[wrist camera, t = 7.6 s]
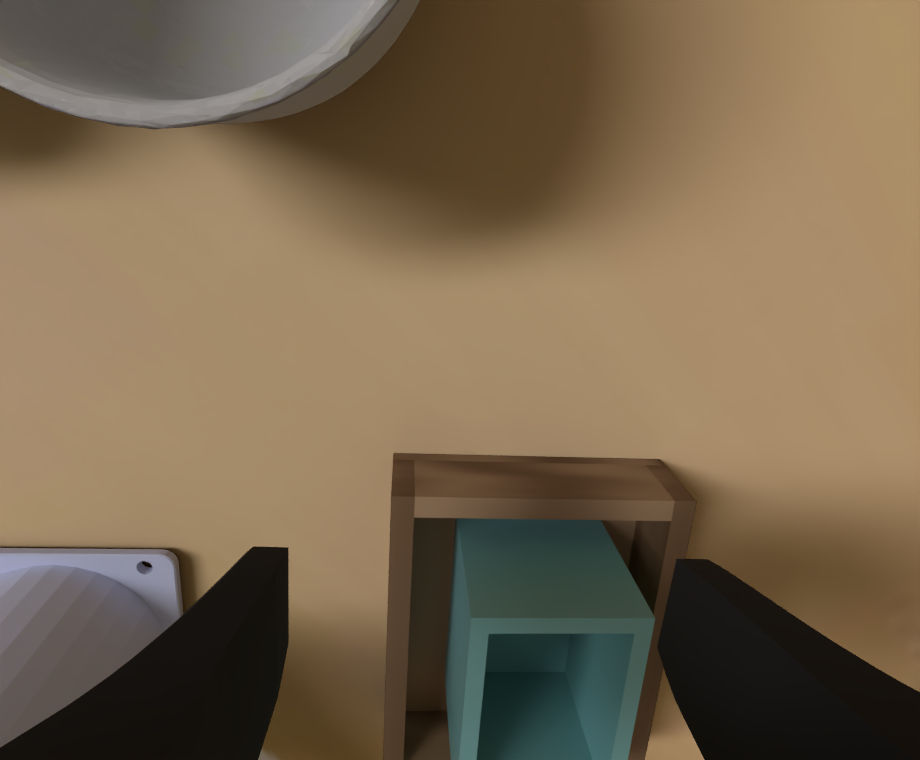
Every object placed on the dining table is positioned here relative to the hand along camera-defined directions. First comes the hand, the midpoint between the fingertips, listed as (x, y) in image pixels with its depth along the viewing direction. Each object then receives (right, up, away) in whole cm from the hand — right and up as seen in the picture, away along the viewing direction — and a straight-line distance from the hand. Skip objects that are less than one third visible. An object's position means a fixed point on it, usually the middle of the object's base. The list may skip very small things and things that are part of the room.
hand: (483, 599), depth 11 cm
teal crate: (+2, -4, +11) cm, 12 cm away
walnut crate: (+2, -4, +12) cm, 13 cm away
